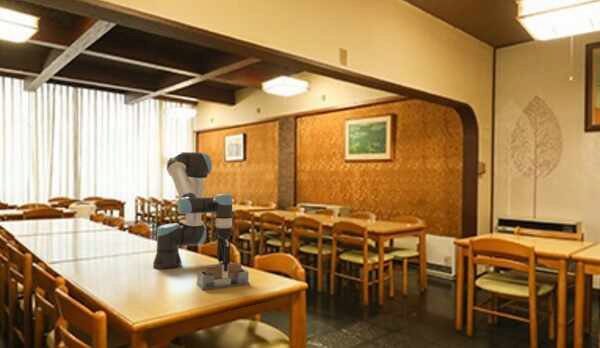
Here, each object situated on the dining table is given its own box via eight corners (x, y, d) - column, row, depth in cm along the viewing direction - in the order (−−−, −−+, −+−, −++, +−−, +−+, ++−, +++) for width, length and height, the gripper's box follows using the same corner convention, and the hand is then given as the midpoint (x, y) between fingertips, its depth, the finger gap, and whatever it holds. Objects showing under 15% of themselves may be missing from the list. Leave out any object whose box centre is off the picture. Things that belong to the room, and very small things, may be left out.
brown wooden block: (204, 277, 186) (205, 264, 186) (238, 275, 192) (238, 262, 192) (206, 280, 181) (206, 267, 181) (240, 277, 187) (241, 264, 187)
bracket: (196, 284, 186) (196, 271, 186) (241, 279, 196) (241, 267, 196) (202, 290, 176) (202, 276, 176) (249, 284, 187) (249, 271, 187)
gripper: (210, 225, 193) (210, 272, 193) (221, 229, 177) (220, 282, 177) (225, 224, 196) (225, 271, 196) (237, 229, 180) (236, 280, 180)
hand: (223, 276), depth 186 cm, fingers closed on brown wooden block, 5 cm apart
